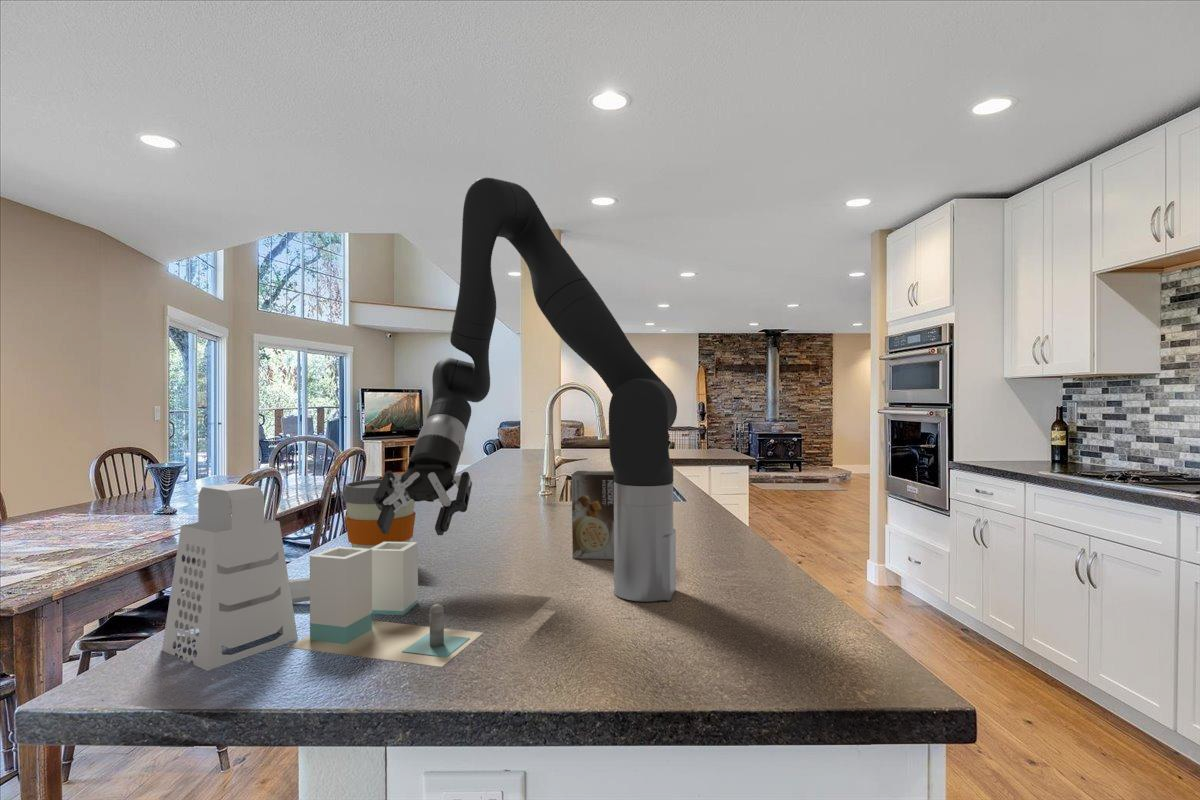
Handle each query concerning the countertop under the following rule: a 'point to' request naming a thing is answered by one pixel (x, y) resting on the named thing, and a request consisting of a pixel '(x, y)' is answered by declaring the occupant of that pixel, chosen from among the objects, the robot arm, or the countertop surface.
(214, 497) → the grater
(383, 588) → the sleeve
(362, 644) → the pin board
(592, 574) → the countertop surface
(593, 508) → the coffee box
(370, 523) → the reusable coffee cup
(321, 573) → the seated sleeve
